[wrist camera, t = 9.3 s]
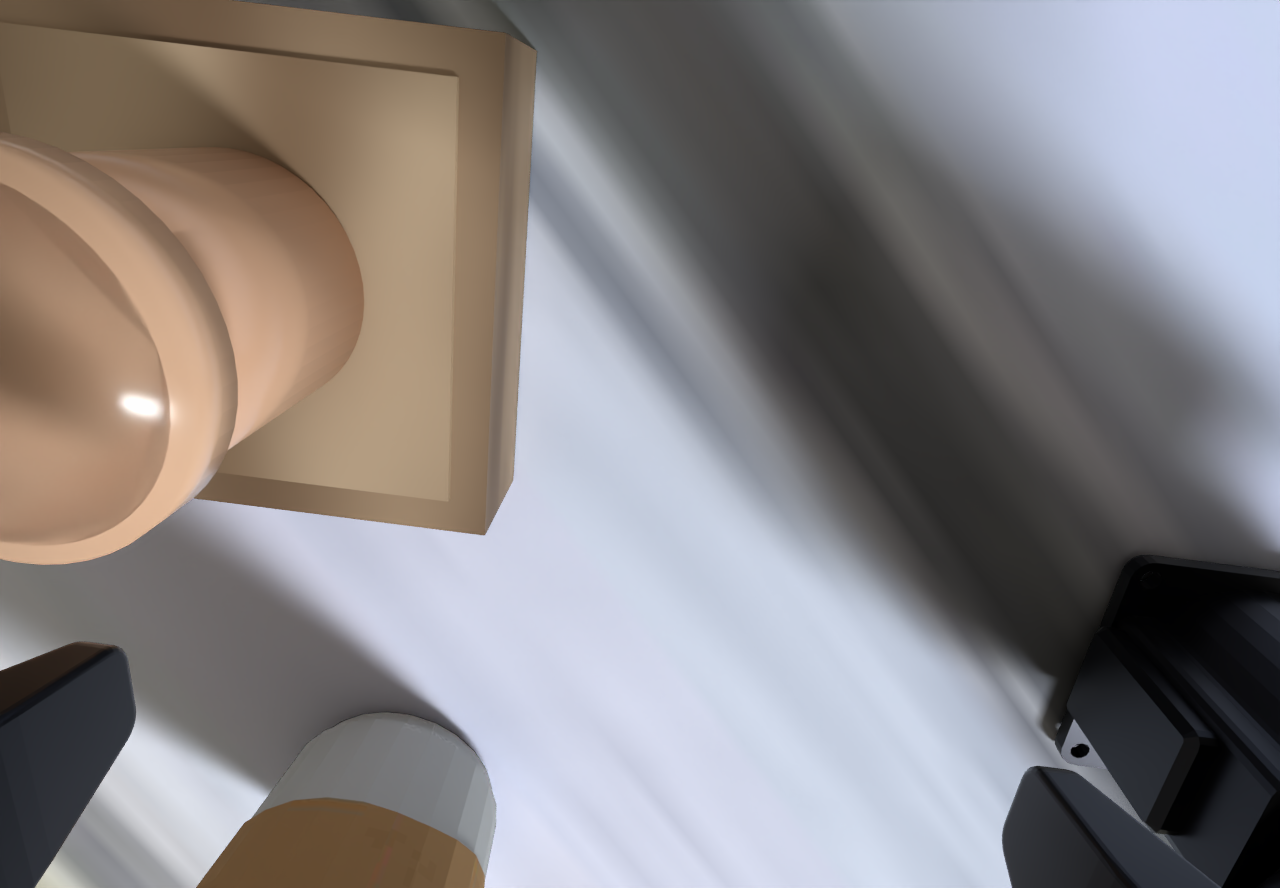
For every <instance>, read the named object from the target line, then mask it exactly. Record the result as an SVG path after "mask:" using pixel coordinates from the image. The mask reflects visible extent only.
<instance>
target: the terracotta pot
mask: <svg viewBox="0 0 1280 888" xmlns="http://www.w3.org/2000/svg"><path fill="white" fill-rule="evenodd" d="M363 314H364V291H363V282H362V277H361V272H360V267H359V264H358V261H357V258H356V255H355V252H354V249H353V247H352V245H351V243H350V240H349V238H348V236H347V234H346V232H345V231H344V229H343V227H342V226H341V224H340V222H339V221H338V219H337V217H336V216H335V215H334V213H333V212H332V211H331V210H330V208H329V207H328V206H327V204H326V203H325V202H324V201H323V200H322V199H321V198H320V197H319V196H318V195H317V194H316V193H315V191H314V190H313V189H312V188H310V187H309V186H308V185H307V184H306V183H304V182H303V181H302V180H301V179H300V178H298V177H297V176H296V175H294V174H293V173H291V172H290V171H288V170H286V169H285V168H283V167H282V166H280V165H278V164H276V163H274V162H272V161H270V160H268V159H266V158H264V157H261V156H258V155H255V154H252V153H250V152H246V151H242V150H237V149H232V148H222V147H194V148H166V149H138V150H109V151H81V152H66V151H64V150H62V149H59V148H57V147H54V146H51V145H49V144H46V143H43V142H40V141H37V140H34V139H31V138H29V137H24V136H19V135H15V134H10V133H5V132H0V559H2V560H7V561H12V562H19V563H29V564H39V565H47V564H69V563H75V562H82V561H88V560H92V559H95V558H98V557H102V556H105V555H108V554H111V553H113V552H115V551H117V550H119V549H121V548H123V547H125V546H128V545H130V544H131V543H132V542H134V541H135V540H137V539H138V538H140V537H141V536H142V535H144V534H145V533H147V532H148V531H149V530H151V529H152V528H154V527H155V526H156V525H158V524H159V523H160V522H162V521H163V520H165V519H166V518H167V517H169V516H170V515H171V514H173V513H174V512H176V511H177V510H178V509H180V508H181V507H183V506H184V505H185V504H187V503H188V502H189V501H191V500H192V499H193V498H194V497H195V496H196V495H197V494H198V493H199V492H200V491H201V490H202V489H203V488H204V487H205V486H206V485H207V484H208V483H209V481H210V480H211V479H212V477H213V476H214V474H215V473H216V472H217V470H218V469H219V467H220V465H221V463H222V461H223V459H224V457H225V455H226V453H227V451H228V450H229V449H230V448H232V447H233V446H235V445H236V444H238V443H239V442H241V441H242V440H244V439H245V438H247V437H248V436H250V435H251V434H253V433H254V432H256V431H257V430H258V429H260V428H261V427H263V426H264V425H266V424H267V423H269V422H270V421H272V420H273V419H275V418H276V417H278V416H279V415H281V414H282V413H284V412H285V411H287V410H288V409H290V408H291V407H292V406H294V405H295V404H297V403H298V402H300V401H301V400H303V399H304V398H306V397H307V396H309V395H310V394H312V393H313V392H315V391H316V390H318V389H319V388H320V387H322V386H323V385H325V384H326V383H327V382H329V381H330V380H331V379H332V378H333V377H334V376H335V375H336V374H337V373H338V372H339V371H340V370H341V369H342V368H343V366H344V365H345V364H346V362H347V361H348V359H349V358H350V356H351V354H352V352H353V350H354V348H355V346H356V343H357V340H358V338H359V335H360V331H361V326H362V321H363Z"/></svg>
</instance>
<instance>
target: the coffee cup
mask: <svg viewBox="0 0 1280 888" xmlns="http://www.w3.org/2000/svg"><path fill="white" fill-rule="evenodd" d="M495 827H496V802H495V799H494V795H493V792H492V787H491V784H490V780H489V777H488V774H487V771H486V768H485V767H484V765H483V764H482V762H481V761H480V759H479V758H478V756H477V755H476V753H475V752H474V751H473V750H472V749H471V748H470V747H469V746H468V745H467V744H466V743H465V742H463V741H462V740H461V739H460V738H459V737H458V736H457V735H455V734H453V733H452V732H450V731H448V730H447V729H445V728H443V727H441V726H440V725H438V724H436V723H434V722H431V721H428V720H425V719H422V718H419V717H416V716H413V715H407V714H398V713H389V712H382V713H372V714H362V715H359V716H356V717H354V718H351V719H348V720H345V721H342V722H340V723H339V724H338V725H336V726H335V727H333V728H330V729H327V730H325V731H323V732H322V733H321V734H319V735H318V736H317V737H315V738H314V739H312V740H311V741H310V742H308V743H307V744H306V745H305V747H304V748H303V749H302V751H301V752H300V754H299V755H298V756H297V758H296V759H295V760H294V762H293V763H292V764H291V766H290V767H289V768H288V770H287V771H286V772H285V774H284V775H283V776H282V778H281V779H280V781H279V782H278V783H277V785H276V786H275V787H274V789H273V790H272V791H271V793H270V794H269V795H268V797H267V798H266V799H265V801H264V802H263V803H262V805H261V806H260V808H259V809H258V810H257V812H256V813H255V814H254V816H253V817H252V818H251V819H250V820H248V821H247V822H245V823H244V824H243V826H242V827H241V828H240V830H239V831H238V832H237V834H236V835H235V836H234V838H233V839H232V840H231V842H230V843H229V844H228V846H227V847H226V848H225V850H224V851H223V852H222V854H221V855H220V856H219V858H218V859H217V860H216V862H215V863H214V864H213V866H212V867H211V868H210V870H209V871H208V872H207V874H206V875H205V876H204V878H203V879H202V880H201V882H200V883H199V884H198V886H197V887H196V888H484V883H485V877H486V872H487V867H488V862H489V857H490V852H491V847H492V842H493V837H494V832H495Z"/></svg>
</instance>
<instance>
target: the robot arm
mask: <svg viewBox="0 0 1280 888" xmlns="http://www.w3.org/2000/svg"><path fill="white" fill-rule="evenodd" d="M1148 572H1152V574H1151V576H1150V577H1149V578H1147V579H1146V580H1142V581H1140V579H1141V578H1142V576H1143V575H1144V574H1146V573H1148ZM135 718H136V706H135V700H134V694H133V688H132V682H131V676H130V670H129V663H128V658H127V655H126V654H125V652H124V651H123V650H122V648H120V647H117V646H115V645H108V644H100V643H93V642H74V643H71V644H68V645H66V646H63V647H61V648H58V649H56V650H53V651H50V652H48V653H45V654H43V655H40V656H38V657H35V658H32V659H30V660H27V661H25V662H22V663H20V664H17V665H14V666H12V667H9V668H7V669H4V670H2V671H0V888H35V886H36V885H37V883H38V882H39V880H40V879H41V877H42V876H43V874H44V873H45V871H46V870H47V868H48V867H49V865H50V864H51V862H52V861H53V859H54V857H55V856H56V854H57V852H58V851H59V849H60V848H61V846H62V844H63V843H64V841H65V840H66V838H67V836H68V835H69V833H70V832H71V830H72V828H73V827H74V825H75V824H76V822H77V820H78V819H79V817H80V816H81V814H82V812H83V811H84V809H85V808H86V806H87V804H88V803H89V801H90V799H91V798H92V796H93V795H94V793H95V791H96V790H97V788H98V787H99V785H100V783H101V782H102V780H103V779H104V777H105V775H106V774H107V772H108V771H109V769H110V767H111V766H112V764H113V763H114V761H115V759H116V758H117V756H118V755H119V753H120V751H121V750H122V748H123V747H124V745H125V743H126V742H127V740H128V738H129V736H130V734H131V732H132V730H133V727H134V723H135ZM1077 744H1080V745H1079V746H1077V747H1073V746H1075V745H1077ZM1055 745H1056V748H1057V750H1058V751H1059V753H1060V754H1061V756H1062V758H1063V759H1064V760H1065V761H1066V762H1068V763H1070V764H1074V765H1080V766H1088V767H1096V768H1104V769H1108V771H1109V772H1110V774H1111V775H1112V777H1113V778H1114V780H1115V781H1116V783H1117V784H1118V786H1119V787H1120V789H1121V790H1122V792H1123V793H1124V795H1125V796H1126V798H1127V799H1128V801H1129V802H1130V804H1131V805H1132V807H1133V808H1134V810H1135V811H1136V813H1137V814H1138V816H1139V817H1140V819H1141V820H1142V822H1143V823H1144V824H1145V826H1146V827H1147V828H1148V829H1149V830H1150V831H1149V830H1148V829H1147V828H1146V827H1144V826H1143V825H1142V824H1141V823H1139V822H1138V821H1137V820H1136V819H1134V818H1133V817H1132V816H1131V815H1129V814H1128V813H1127V812H1126V811H1124V810H1123V809H1122V808H1121V807H1119V806H1118V805H1117V804H1116V803H1114V802H1113V801H1112V800H1111V799H1109V798H1108V797H1107V796H1106V795H1104V794H1103V793H1102V792H1101V791H1099V790H1098V789H1097V788H1096V787H1094V786H1093V785H1092V784H1091V783H1089V782H1088V781H1087V780H1086V779H1084V778H1083V777H1082V776H1080V775H1079V774H1078V773H1076V772H1074V771H1070V770H1066V769H1058V768H1051V767H1043V766H1034V767H1030V768H1029V769H1028V770H1027V771H1026V772H1025V773H1024V775H1023V777H1022V779H1021V782H1020V784H1019V787H1018V790H1017V792H1016V795H1015V797H1014V800H1013V803H1012V805H1011V808H1010V810H1009V813H1008V815H1007V818H1006V821H1005V823H1004V827H1003V833H1002V845H1003V852H1004V857H1005V861H1006V865H1007V869H1008V873H1009V877H1010V881H1011V885H1012V888H1280V571H1272V570H1264V569H1256V568H1248V567H1240V566H1232V565H1224V564H1216V563H1208V562H1200V561H1193V560H1185V559H1177V558H1169V557H1161V556H1153V555H1141V556H1138V557H1135V558H1133V559H1131V560H1130V561H1129V562H1128V563H1126V565H1125V566H1124V568H1123V570H1122V572H1121V575H1120V577H1119V580H1118V582H1117V585H1116V587H1115V590H1114V592H1113V595H1112V597H1111V600H1110V602H1109V605H1108V607H1107V610H1106V612H1105V615H1104V617H1103V620H1102V622H1101V625H1100V627H1099V630H1098V631H1097V632H1096V633H1095V635H1094V637H1093V639H1092V642H1091V644H1090V647H1089V649H1088V652H1087V654H1086V657H1085V659H1084V662H1083V665H1082V667H1081V670H1080V672H1079V675H1078V677H1077V680H1076V682H1075V685H1074V687H1073V690H1072V692H1071V695H1070V697H1069V700H1068V702H1067V710H1066V713H1065V716H1064V718H1063V721H1062V723H1061V726H1060V728H1059V731H1058V733H1057V736H1056V738H1055ZM1153 833H1158V834H1164V835H1165V837H1166V838H1167V840H1168V841H1169V843H1170V844H1171V845H1172V847H1173V848H1174V850H1173V849H1172V848H1171V847H1170V846H1168V845H1167V844H1166V843H1165V842H1163V841H1162V840H1161V839H1159V838H1158V837H1157V836H1156V835H1154V834H1153Z"/></svg>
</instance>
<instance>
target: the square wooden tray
mask: <svg viewBox="0 0 1280 888" xmlns="http://www.w3.org/2000/svg"><path fill="white" fill-rule="evenodd" d="M536 58H537V51H536V50H534V49H532V48H531V47H529V46H527V45H526V44H524V43H522V42H521V41H519V40H517V39H515V38H514V37H512V36H510V35H509V34H507V33H504V32H495V31H487V30H478V29H470V28H462V27H453V26H445V25H436V24H428V23H419V22H411V21H403V20H394V19H386V18H377V17H369V16H361V15H352V14H344V13H335V12H327V11H318V10H310V9H302V8H293V7H285V6H276V5H268V4H260V3H251V2H243V1H234V0H0V132H5V133H10V134H15V135H19V136H24V137H29V138H31V139H34V140H37V141H40V142H43V143H46V144H49V145H51V146H54V147H57V148H59V149H62V150H64V151H66V152H81V151H109V150H138V149H166V148H194V147H222V148H232V149H237V150H242V151H246V152H250V153H252V154H255V155H258V156H261V157H264V158H266V159H268V160H270V161H272V162H274V163H276V164H278V165H280V166H282V167H283V168H285V169H286V170H288V171H290V172H291V173H293V174H294V175H296V176H297V177H298V178H300V179H301V180H302V181H303V182H304V183H306V184H307V185H308V186H309V187H310V188H312V189H313V190H314V191H315V193H316V194H317V195H318V196H319V197H320V198H321V199H322V200H323V201H324V202H325V203H326V204H327V206H328V207H329V208H330V210H331V211H332V212H333V213H334V215H335V216H336V217H337V219H338V221H339V222H340V224H341V226H342V227H343V229H344V231H345V232H346V234H347V236H348V238H349V240H350V243H351V245H352V247H353V249H354V252H355V255H356V258H357V261H358V264H359V267H360V272H361V277H362V282H363V291H364V314H363V321H362V326H361V331H360V335H359V338H358V340H357V343H356V346H355V348H354V350H353V352H352V354H351V356H350V358H349V359H348V361H347V362H346V364H345V365H344V366H343V368H342V369H341V370H340V371H339V372H338V373H337V374H336V375H335V376H334V377H333V378H332V379H331V380H330V381H329V382H327V383H326V384H325V385H323V386H322V387H320V388H319V389H318V390H316V391H315V392H313V393H312V394H310V395H309V396H307V397H306V398H304V399H303V400H301V401H300V402H298V403H297V404H295V405H294V406H292V407H291V408H290V409H288V410H287V411H285V412H284V413H282V414H281V415H279V416H278V417H276V418H275V419H273V420H272V421H270V422H269V423H267V424H266V425H264V426H263V427H261V428H260V429H258V430H257V431H256V432H254V433H253V434H251V435H250V436H248V437H247V438H245V439H244V440H242V441H241V442H239V443H238V444H236V445H235V446H233V447H232V448H230V449H229V450H228V451H227V453H226V455H225V457H224V459H223V461H222V463H221V465H220V467H219V469H218V470H217V472H216V473H215V474H214V476H213V477H212V479H211V480H210V481H209V483H208V484H207V485H206V486H205V487H204V488H203V489H202V490H201V491H200V492H199V493H198V494H197V495H196V496H195V497H194V498H195V499H203V500H211V501H219V502H227V503H235V504H242V505H250V506H258V507H266V508H274V509H282V510H290V511H297V512H305V513H313V514H321V515H329V516H337V517H345V518H352V519H360V520H368V521H376V522H384V523H392V524H399V525H407V526H415V527H423V528H431V529H439V530H447V531H454V532H462V533H470V534H478V535H485V534H486V532H487V530H488V528H489V526H490V524H491V522H492V520H493V518H494V516H495V515H496V513H497V511H498V509H499V507H500V505H501V503H502V501H503V499H504V497H505V495H506V493H507V491H508V489H509V487H510V485H511V483H512V481H513V474H514V456H515V438H516V420H517V402H518V384H519V366H520V347H521V329H522V311H523V293H524V275H525V257H526V239H527V221H528V203H529V185H530V166H531V148H532V130H533V112H534V94H535V76H536Z"/></svg>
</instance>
